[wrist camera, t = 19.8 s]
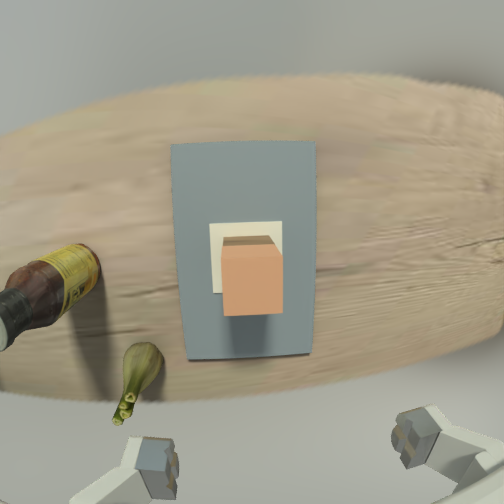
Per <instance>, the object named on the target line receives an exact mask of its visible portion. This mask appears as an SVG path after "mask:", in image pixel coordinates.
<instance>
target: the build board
mask: <svg viewBox="0 0 504 504" xmlns="http://www.w3.org/2000/svg"><path fill="white" fill-rule="evenodd" d="M171 178H172V201H173V220H174V235H175V249H176V262H177V274H178V284H179V295H180V304H181V313H182V322H183V331H184V339H185V347H186V354H187V359H225V358H247V357H264V356H278V355H290V354H302V353H312V340H313V323H314V301H315V273H316V147H315V141H226V142H204V143H187V144H173V145H171ZM262 235H269V236H270V238H271V239H272V241H273V242H274V243H275V246H276V247H277V248H278V250H279V251H280V253H281V254H282V256H283V313H277V314H260V315H240V316H224V309H223V292H222V274H221V251H222V246H223V237H236V236H262Z"/></svg>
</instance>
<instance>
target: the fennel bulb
mask: <svg viewBox="0 0 504 504" xmlns="http://www.w3.org/2000/svg"><path fill="white" fill-rule="evenodd" d="M162 364H163V356H162V354H161V352H160V351H159V350H158V348H157V347H156V346H155V345H153V344H151V343H150V342H146V343H136V344H134V345H132V346H131V347H130V348H129V349H128V350H127V351H126V353H125V355H124V359H123V379H124V380H123V381H124V391H123V395H122V398H121V400H120V403H119V405H118V408H117V410H116V412H115V414H114V416H113V419H112V421H113V423H114V424H115V425H116V426H119V425H121V424H122V423H123V421H124V419H126V418H129V417H131V415H132V412H133V408H134V404H135V402H136V400H137V397H138V395H139V394H140V393H141V392H142V391H143V390H144V389H145V388H146V387H147V386H148V385H149V384H150V383H151V382H152V381H153V380H154V379H155V377H156V376H157V375H158V373H159V371H160V369H161V366H162Z"/></svg>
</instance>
